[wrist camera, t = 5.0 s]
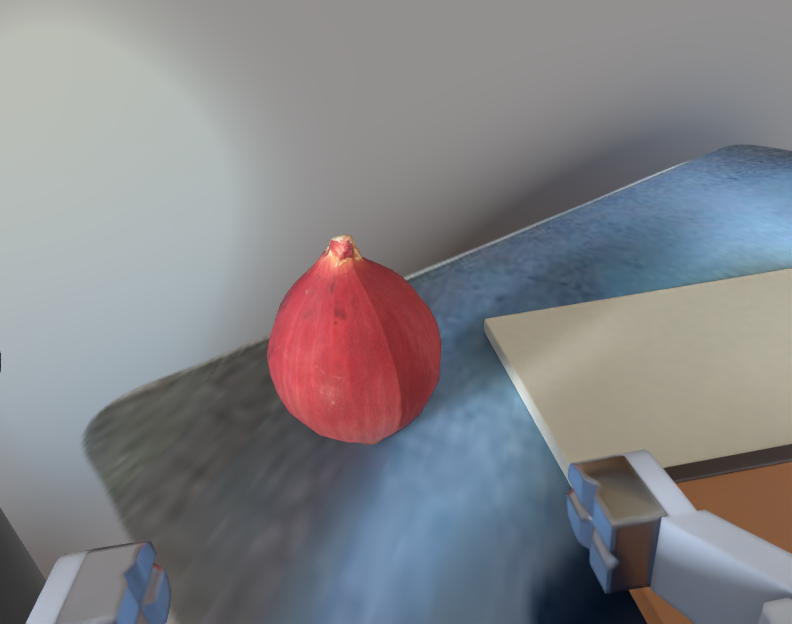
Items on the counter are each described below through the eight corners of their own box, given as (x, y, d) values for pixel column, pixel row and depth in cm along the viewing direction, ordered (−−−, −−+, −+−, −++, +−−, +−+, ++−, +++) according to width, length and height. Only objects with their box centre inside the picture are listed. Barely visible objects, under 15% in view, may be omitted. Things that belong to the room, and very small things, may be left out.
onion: (260, 471, 20) (196, 265, 16) (343, 380, 24) (309, 202, 20) (408, 517, 17) (373, 283, 13) (470, 406, 21) (457, 207, 18)
